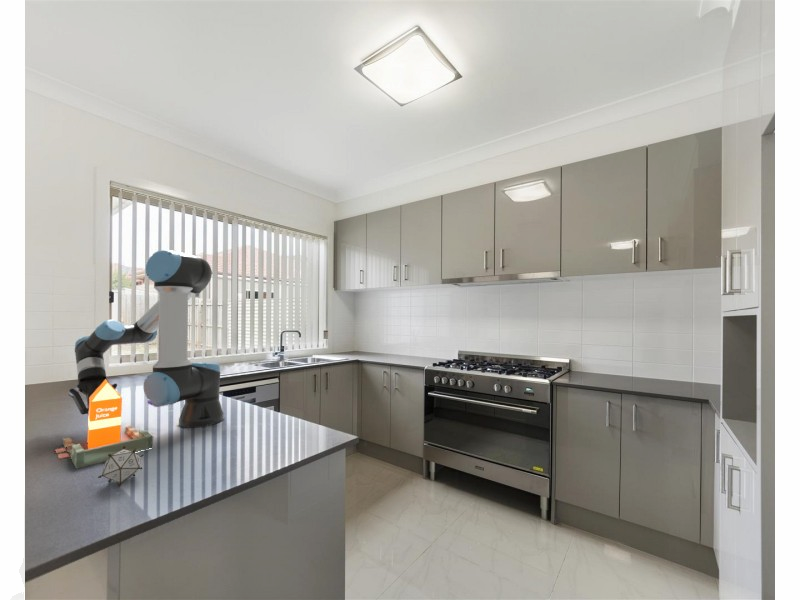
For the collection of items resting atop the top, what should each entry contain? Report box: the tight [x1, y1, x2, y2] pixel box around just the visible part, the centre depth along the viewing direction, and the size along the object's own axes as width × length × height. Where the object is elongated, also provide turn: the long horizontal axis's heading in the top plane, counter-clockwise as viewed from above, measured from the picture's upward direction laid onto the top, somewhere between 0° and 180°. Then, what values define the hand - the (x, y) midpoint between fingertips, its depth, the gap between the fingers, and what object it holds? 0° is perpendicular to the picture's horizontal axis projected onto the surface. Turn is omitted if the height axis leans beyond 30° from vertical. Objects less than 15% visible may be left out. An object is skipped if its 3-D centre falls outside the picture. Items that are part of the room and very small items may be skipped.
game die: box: [97, 446, 145, 488], centre depth 83 cm, size 9×8×10 cm
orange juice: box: [87, 379, 123, 449], centre depth 108 cm, size 8×9×20 cm
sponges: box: [147, 399, 160, 407], centre depth 158 cm, size 7×13×2 cm, turn 53°
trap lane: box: [62, 425, 154, 469], centre depth 104 cm, size 26×17×4 cm, turn 51°
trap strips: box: [54, 447, 70, 460], centre depth 99 cm, size 10×2×1 cm, turn 51°
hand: (98, 428), depth 111 cm, fingers closed
